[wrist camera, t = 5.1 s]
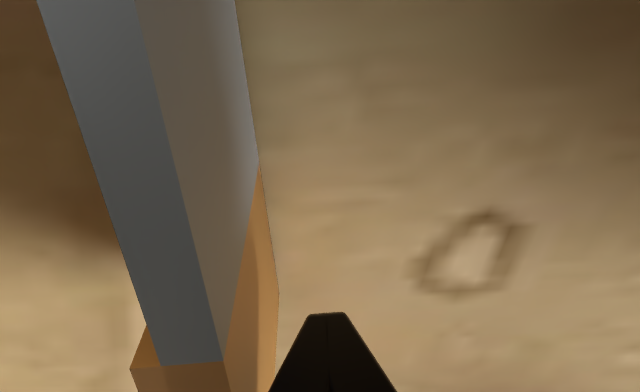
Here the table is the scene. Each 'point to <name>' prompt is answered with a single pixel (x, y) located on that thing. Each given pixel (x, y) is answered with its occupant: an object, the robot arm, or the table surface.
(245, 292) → the side door
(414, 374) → the table surface
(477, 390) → the table surface
